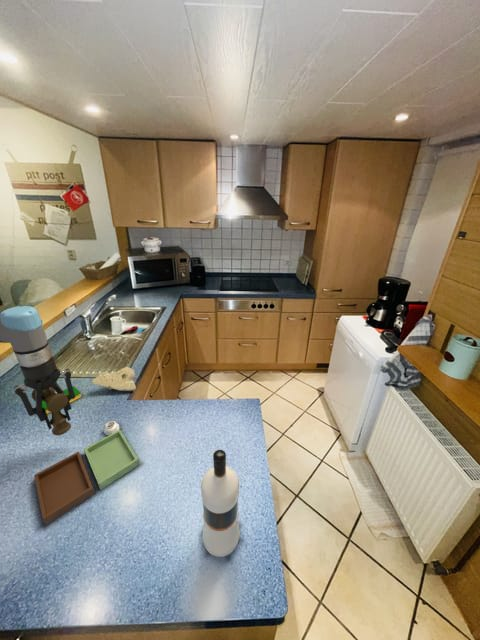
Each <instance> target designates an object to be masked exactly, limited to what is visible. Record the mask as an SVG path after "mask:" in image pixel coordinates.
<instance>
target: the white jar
mask: <svg viewBox="0 0 480 640" xmlns="http://www.w3.org/2000/svg"><path fill="white" fill-rule="evenodd" d="M118 430H120V424H119V423H118V422H116V421H114V420H110V421H108V422H107V423H106V424H105V426H104V429H103V432H104V434H105V435H107V436H109V435H110V434H112V433H114V432H116V431H118Z"/></svg>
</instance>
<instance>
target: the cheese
mask: <svg viewBox="0 0 480 640" xmlns="http://www.w3.org/2000/svg"><path fill="white" fill-rule="evenodd" d="M134 379H136V373H135V370H134V369H133V368H131V367H128V366H124V367H122V368H121V369H120V370H117V371H115V372H108V371H107V370H105V371H103V372H101V373H100V374H98V375H97V376H96V377H94V378H93V379H92V381H91V383H92V384H93V385H95V386H98V387H103V388H106V389H108V390H109V391H111V390H115V391H116V390H117V391H120V392H134V391H136V390H137V387H136V383H135V382H134Z"/></svg>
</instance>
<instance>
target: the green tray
mask: <svg viewBox="0 0 480 640" xmlns="http://www.w3.org/2000/svg"><path fill="white" fill-rule="evenodd" d="M83 451H84V454H85V456H86V459H87V461H88V464H89V466H90V468H91V471H92V473H93V476H94V478H95V480H96V483H97V485H98V488H99V491H100V490H101V491H102V490H103V489H105V488H107V486H109V485H110V484H112V483H114V482H115V481H117V480H119V478H122V477H123V476H124V475H126V474H128V473H129V472H130V471H132V470H134V469H136V468H137V467H138V466H140V464H141V463H140V461H139V458H138V456H137V454H136V453H135V451H134V449H133V448H132V446H131V445H130V443H129V442H128V440H127V437H126V436H125V434H124V433H123V431H122V430H121V429H119V430H118V431H116V432H114V433H112V434H110V435H107V436H105V437H103V438H101V439H99V440H97V441H95V442H94V443H92V444H90V445H88V446H86V447H84V448H83Z"/></svg>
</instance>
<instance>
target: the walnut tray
mask: <svg viewBox="0 0 480 640" xmlns="http://www.w3.org/2000/svg"><path fill="white" fill-rule="evenodd" d="M87 471H88V470H87V469H86V465H85V464H84V461H83V457H82V456H81V452H80V451H77V452H74V453H73V454H71V455H69V456H67V457H65V458H64V459H61V460H60V461H58V462H56V463H54V464H52V465H50V466H48V467H46V468H44V469H42V470H41V471H39V472H37V473H35V474H34V475H33V476H34V482H35V488H36V492H37V498H38V501H39V507H40V512H41V517H42V521H43V522H44V525H45V526H47V525H48V524H50V523H52V522H53V521H55V520H57V519H58V518H60V517H61V516H63V515H64V514H65V513H68V512H69V511H70V510H72V509H74V508H76V507H77V506H78V505H80V504H81V503H83V502H84V501H86V500H88V499H89V498H91V497H92V496H94V495H95V494H96V492H95V490H94V486H93V483H92V482H91V479H90V477H89V473H88V472H87Z"/></svg>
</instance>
